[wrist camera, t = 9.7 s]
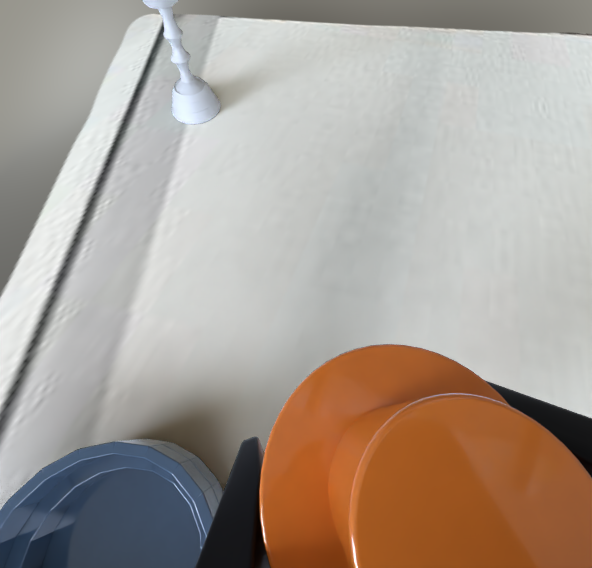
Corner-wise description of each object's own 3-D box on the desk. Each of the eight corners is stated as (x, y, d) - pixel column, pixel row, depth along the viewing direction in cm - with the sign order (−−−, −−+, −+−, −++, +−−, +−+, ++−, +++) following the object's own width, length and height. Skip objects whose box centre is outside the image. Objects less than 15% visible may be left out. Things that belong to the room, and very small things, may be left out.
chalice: (214, 137, 31) (122, -187, 15) (150, 125, 32) (-6, -198, 15) (238, 89, 34) (184, -226, 17) (179, 79, 35) (74, -233, 18)
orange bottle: (397, 397, 15) (666, 322, 4) (399, 531, 13) (955, 1099, 2) (290, 383, 15) (272, 278, 4) (274, 512, 13) (165, 927, 2)
